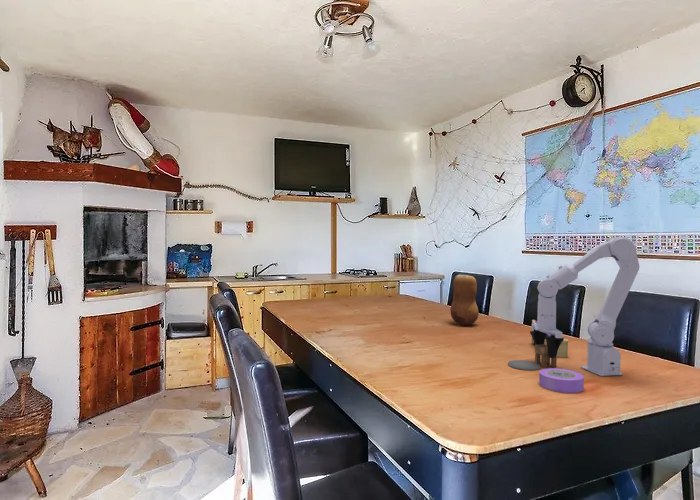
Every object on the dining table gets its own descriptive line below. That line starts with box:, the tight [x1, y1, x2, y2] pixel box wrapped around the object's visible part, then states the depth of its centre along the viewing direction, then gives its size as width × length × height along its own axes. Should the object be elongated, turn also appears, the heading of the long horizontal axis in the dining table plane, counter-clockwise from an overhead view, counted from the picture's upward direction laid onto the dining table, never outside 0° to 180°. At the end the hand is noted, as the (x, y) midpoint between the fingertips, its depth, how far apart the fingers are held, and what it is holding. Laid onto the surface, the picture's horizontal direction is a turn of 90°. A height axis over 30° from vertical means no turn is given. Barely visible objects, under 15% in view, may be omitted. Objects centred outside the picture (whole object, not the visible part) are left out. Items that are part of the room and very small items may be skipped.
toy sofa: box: [531, 319, 569, 358], centre depth 170 cm, size 21×9×10 cm, turn 170°
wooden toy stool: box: [534, 344, 558, 369], centre depth 150 cm, size 5×5×6 cm
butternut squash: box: [450, 274, 480, 327], centre depth 219 cm, size 14×13×25 cm
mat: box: [507, 359, 541, 372], centre depth 149 cm, size 10×10×1 cm
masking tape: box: [538, 367, 585, 394], centre depth 129 cm, size 12×12×4 cm
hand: (545, 354), depth 150 cm, fingers open, 7 cm apart
